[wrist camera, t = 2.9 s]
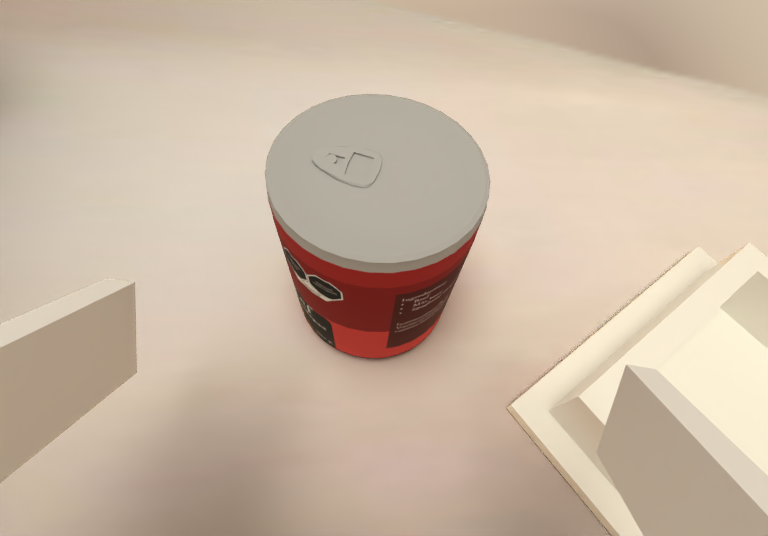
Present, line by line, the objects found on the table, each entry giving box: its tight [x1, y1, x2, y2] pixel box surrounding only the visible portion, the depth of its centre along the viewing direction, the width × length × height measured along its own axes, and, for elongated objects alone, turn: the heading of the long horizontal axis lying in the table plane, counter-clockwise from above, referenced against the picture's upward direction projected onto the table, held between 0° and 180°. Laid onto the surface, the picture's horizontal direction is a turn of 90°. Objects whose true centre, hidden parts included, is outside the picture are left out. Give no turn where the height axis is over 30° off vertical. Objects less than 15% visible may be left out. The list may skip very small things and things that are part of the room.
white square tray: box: [507, 243, 768, 536], centre depth 20 cm, size 16×16×4 cm
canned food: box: [265, 94, 490, 358], centre depth 20 cm, size 8×8×11 cm
